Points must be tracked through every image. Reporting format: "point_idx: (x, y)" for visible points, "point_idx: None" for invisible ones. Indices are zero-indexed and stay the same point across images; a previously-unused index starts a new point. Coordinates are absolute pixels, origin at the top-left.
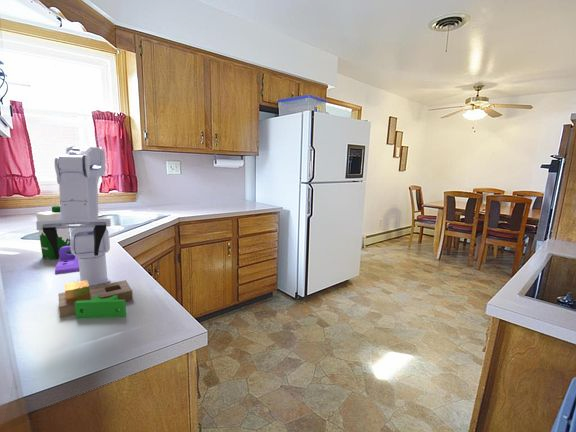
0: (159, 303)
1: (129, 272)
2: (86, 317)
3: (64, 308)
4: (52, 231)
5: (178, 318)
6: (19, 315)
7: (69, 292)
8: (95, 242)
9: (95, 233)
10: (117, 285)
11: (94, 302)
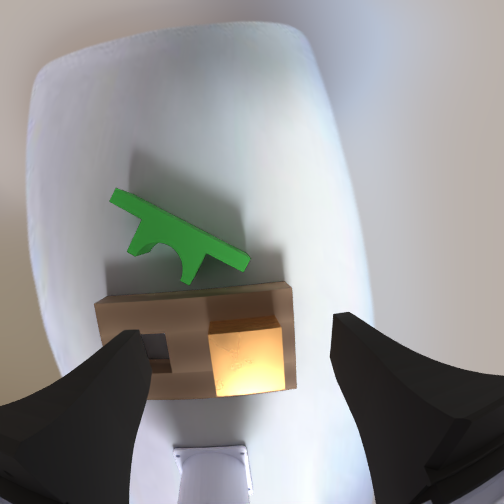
0: (52, 235)
1: (134, 477)
2: (221, 240)
3: (277, 287)
4: (483, 401)
5: (41, 131)
6: None
7: (268, 325)
8: (97, 374)
9: (54, 417)
10: None
11: (193, 228)
